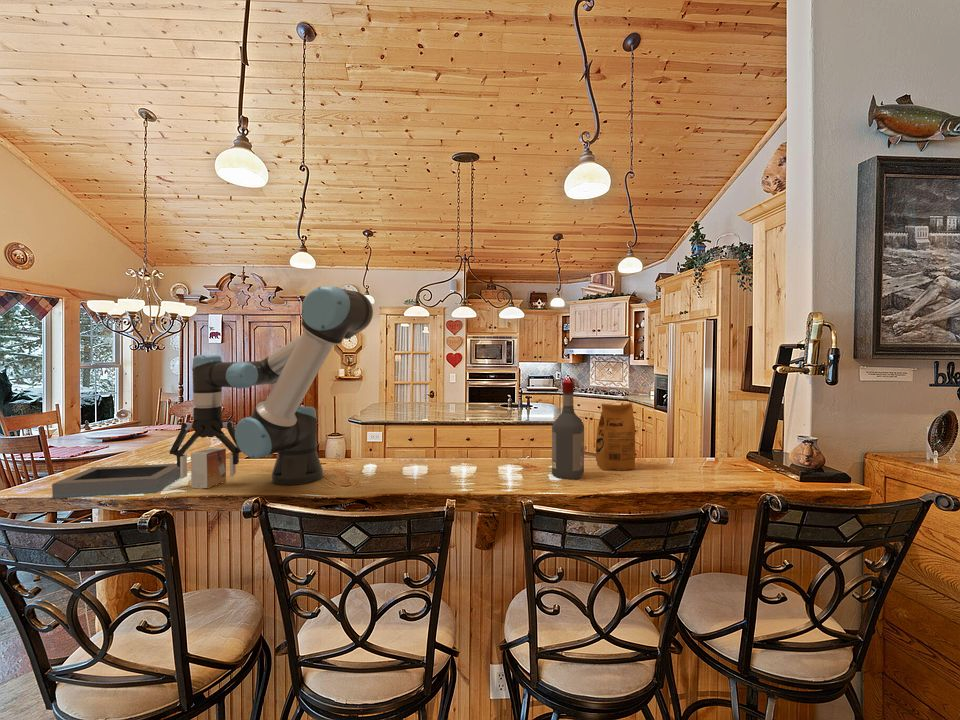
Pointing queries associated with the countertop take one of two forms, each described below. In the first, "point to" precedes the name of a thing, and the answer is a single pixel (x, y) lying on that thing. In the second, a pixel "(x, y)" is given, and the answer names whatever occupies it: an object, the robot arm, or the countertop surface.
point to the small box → (208, 467)
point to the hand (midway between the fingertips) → (208, 476)
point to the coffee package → (616, 438)
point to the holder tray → (117, 480)
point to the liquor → (568, 440)
